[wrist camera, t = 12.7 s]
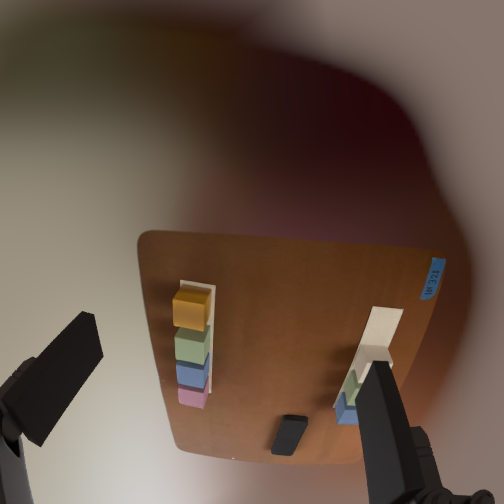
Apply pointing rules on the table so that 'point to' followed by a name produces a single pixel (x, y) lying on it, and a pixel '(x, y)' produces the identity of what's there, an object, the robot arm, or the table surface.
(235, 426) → the table surface
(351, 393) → the white strip with cubes
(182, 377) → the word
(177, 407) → the table surface
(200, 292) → the block
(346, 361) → the table surface
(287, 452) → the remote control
